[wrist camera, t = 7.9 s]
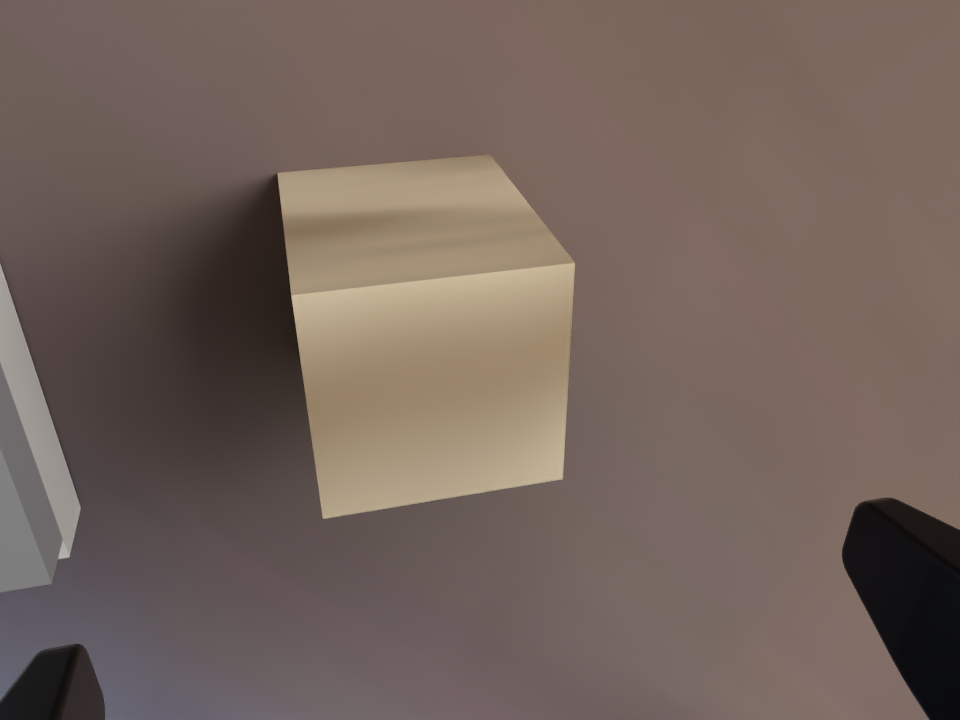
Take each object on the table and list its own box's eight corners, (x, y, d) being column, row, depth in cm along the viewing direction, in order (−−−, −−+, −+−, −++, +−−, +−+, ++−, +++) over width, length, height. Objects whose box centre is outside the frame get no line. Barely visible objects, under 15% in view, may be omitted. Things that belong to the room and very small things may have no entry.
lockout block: (490, 333, 18) (562, 479, 14) (303, 358, 18) (323, 519, 13) (489, 153, 16) (574, 262, 12) (276, 171, 15) (291, 295, 11)
